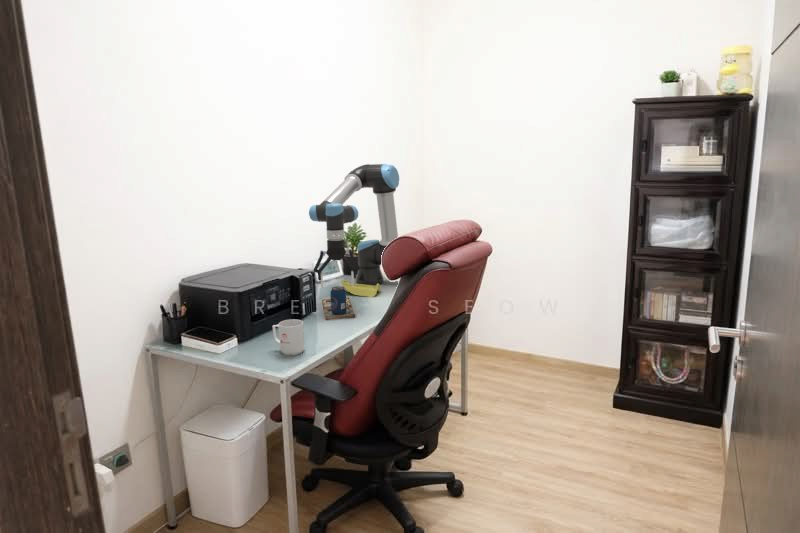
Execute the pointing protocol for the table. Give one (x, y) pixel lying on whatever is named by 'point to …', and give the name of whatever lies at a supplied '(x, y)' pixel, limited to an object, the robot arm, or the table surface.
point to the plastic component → (361, 289)
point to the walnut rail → (327, 317)
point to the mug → (290, 336)
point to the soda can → (338, 301)
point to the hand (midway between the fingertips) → (337, 286)
